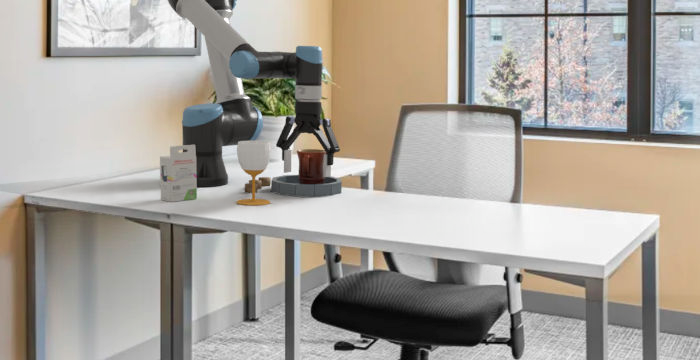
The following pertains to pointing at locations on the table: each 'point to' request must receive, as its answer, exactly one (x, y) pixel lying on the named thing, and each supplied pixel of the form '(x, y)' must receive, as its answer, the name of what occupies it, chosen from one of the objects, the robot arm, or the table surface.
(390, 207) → the table surface
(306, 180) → the mug
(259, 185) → the bead
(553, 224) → the table surface
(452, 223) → the table surface
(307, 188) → the tray
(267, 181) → the bead
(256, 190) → the bead
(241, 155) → the cup
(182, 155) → the ink box
